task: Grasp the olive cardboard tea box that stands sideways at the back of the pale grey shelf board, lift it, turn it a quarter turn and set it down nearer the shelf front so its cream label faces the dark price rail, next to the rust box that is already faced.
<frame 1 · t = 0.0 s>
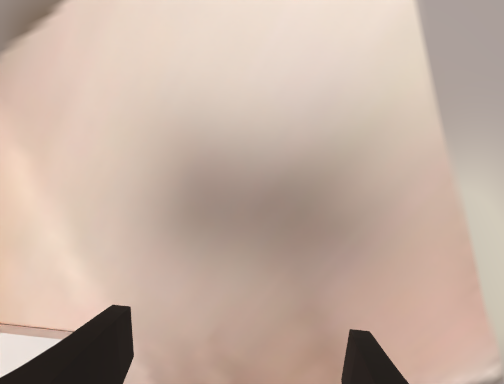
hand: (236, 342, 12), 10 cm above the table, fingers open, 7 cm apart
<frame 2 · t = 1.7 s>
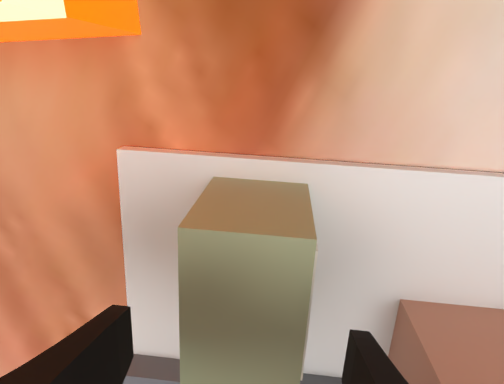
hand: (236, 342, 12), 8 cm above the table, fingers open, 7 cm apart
tea box rust: (461, 342, 19), point 1 cm above the table, touching shelf board
tea box olive: (256, 246, 19), point 1 cm above the table, touching shelf board
shelf board: (329, 279, 20), on the table
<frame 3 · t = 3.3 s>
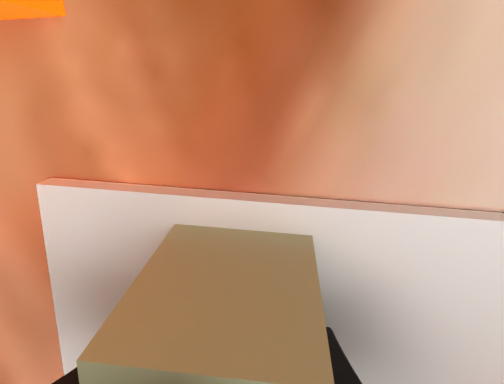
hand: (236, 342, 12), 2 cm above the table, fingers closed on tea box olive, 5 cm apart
tea box olive: (238, 319, 13), point 1 cm above the table, touching gripper
shelf board: (343, 359, 14), on the table
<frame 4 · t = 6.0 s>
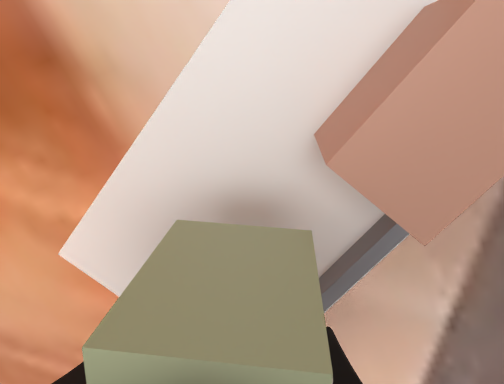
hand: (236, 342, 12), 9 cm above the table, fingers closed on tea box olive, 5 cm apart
tea box rust: (401, 106, 17), point 1 cm above the table, touching shelf board
tea box olive: (239, 313, 13), point 8 cm above the table, touching gripper
shelf board: (265, 179, 19), on the table
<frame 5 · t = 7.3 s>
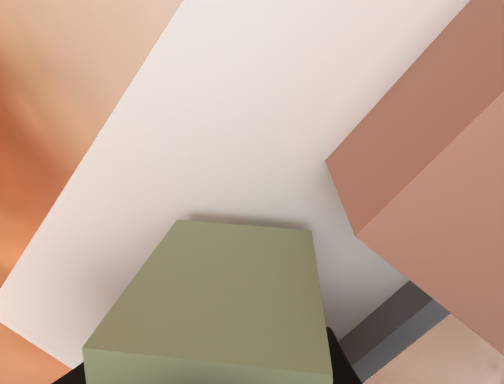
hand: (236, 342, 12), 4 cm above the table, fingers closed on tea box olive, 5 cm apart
tea box rust: (451, 122, 12), point 1 cm above the table, touching shelf board
tea box olive: (239, 313, 13), point 2 cm above the table, touching gripper
shelf board: (257, 218, 14), on the table
when the fingers open (3 cm above the table, at t = 8.7 s): tea box olive stays where it is, resting on shelf board.
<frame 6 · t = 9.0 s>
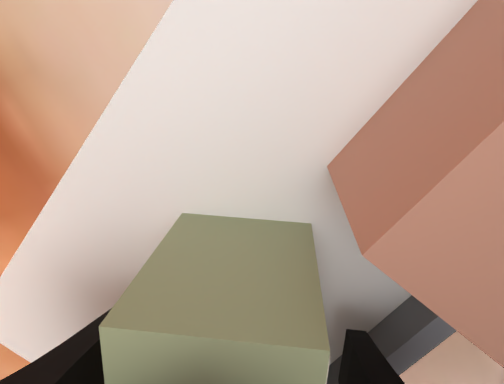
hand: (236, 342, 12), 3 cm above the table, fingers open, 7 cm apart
tea box rust: (461, 126, 11), point 1 cm above the table, touching shelf board
tea box olive: (241, 303, 14), point 1 cm above the table, touching shelf board
shelf board: (255, 226, 14), on the table
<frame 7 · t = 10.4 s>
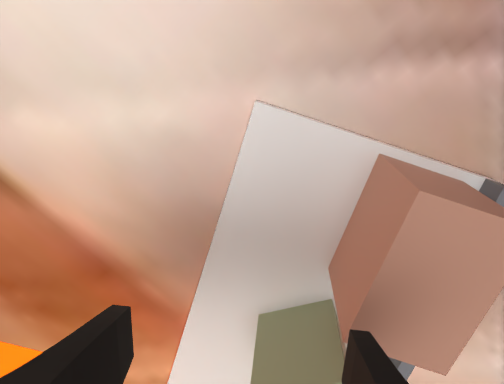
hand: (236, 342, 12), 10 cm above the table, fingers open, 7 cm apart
tea box rust: (391, 227, 20), point 1 cm above the table, touching shelf board
tea box olive: (310, 353, 23), point 1 cm above the table, touching shelf board
shelf board: (302, 306, 23), on the table
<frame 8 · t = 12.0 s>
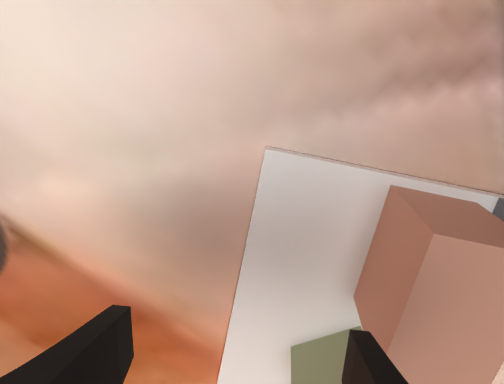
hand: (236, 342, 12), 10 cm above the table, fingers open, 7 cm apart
tea box rust: (411, 252, 20), point 1 cm above the table, touching shelf board
tea box olive: (345, 378, 23), point 1 cm above the table, touching shelf board
shelf board: (332, 334, 23), on the table
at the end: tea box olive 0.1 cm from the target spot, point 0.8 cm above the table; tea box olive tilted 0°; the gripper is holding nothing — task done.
